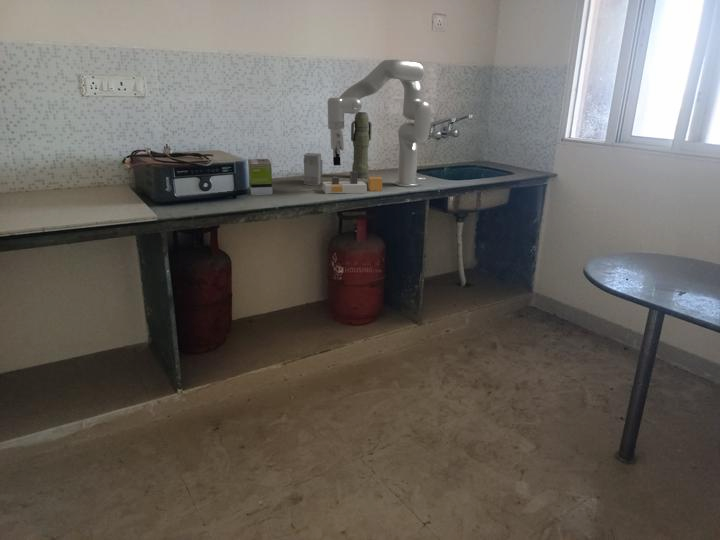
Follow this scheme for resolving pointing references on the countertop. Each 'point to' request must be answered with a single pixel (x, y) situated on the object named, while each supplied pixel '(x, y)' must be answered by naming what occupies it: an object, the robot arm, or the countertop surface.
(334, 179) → the tagged toggle
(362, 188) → the breaker panel
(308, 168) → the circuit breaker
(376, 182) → the orange cube
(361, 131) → the thermos
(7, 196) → the countertop surface
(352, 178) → the plain toggle
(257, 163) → the tea box
